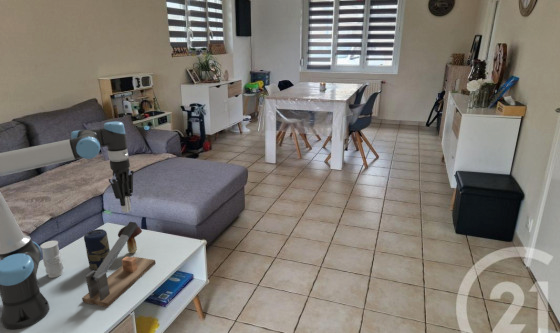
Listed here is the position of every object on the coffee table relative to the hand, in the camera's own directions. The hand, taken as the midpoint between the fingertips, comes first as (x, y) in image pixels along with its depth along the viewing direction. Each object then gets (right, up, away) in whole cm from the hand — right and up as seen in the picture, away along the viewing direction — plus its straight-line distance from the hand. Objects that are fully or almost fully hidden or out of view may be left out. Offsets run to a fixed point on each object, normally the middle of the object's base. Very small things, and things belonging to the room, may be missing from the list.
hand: (126, 211), depth 160 cm
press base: (-2, -31, 0) cm, 31 cm away
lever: (-2, -17, -4) cm, 18 cm away
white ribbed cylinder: (-35, -29, +6) cm, 46 cm away
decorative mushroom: (-7, -24, +24) cm, 34 cm away
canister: (-17, -27, +13) cm, 35 cm away
